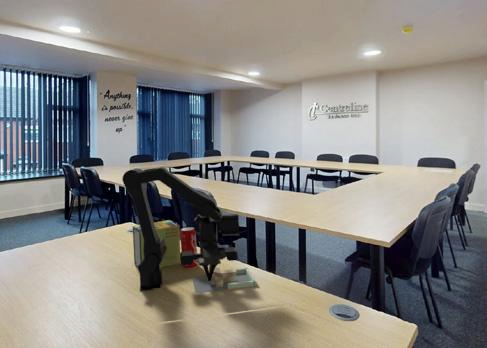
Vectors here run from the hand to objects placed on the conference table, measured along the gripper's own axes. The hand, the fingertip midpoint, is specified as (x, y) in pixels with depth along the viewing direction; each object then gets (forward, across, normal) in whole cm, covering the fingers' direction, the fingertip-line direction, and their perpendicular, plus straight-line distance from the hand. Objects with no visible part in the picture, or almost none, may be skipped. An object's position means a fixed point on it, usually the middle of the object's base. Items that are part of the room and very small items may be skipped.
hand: (209, 280), depth 112 cm
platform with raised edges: (+1, +5, 0) cm, 5 cm away
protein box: (+2, -17, +23) cm, 29 cm away
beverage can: (+2, -5, +17) cm, 18 cm away
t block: (+1, +5, 0) cm, 5 cm away
